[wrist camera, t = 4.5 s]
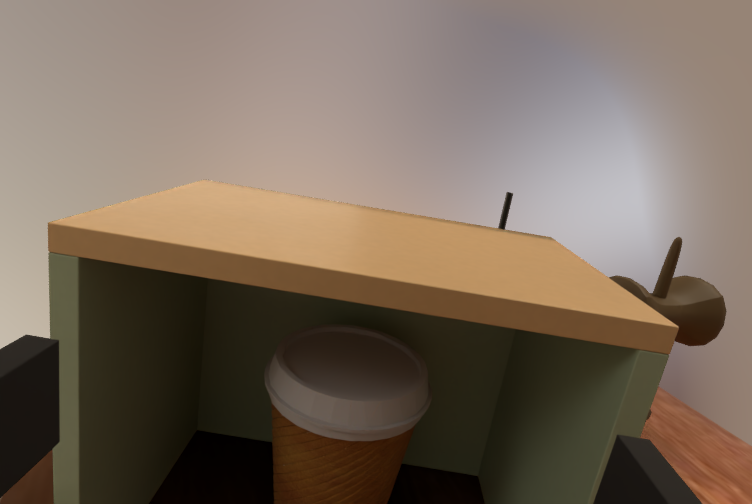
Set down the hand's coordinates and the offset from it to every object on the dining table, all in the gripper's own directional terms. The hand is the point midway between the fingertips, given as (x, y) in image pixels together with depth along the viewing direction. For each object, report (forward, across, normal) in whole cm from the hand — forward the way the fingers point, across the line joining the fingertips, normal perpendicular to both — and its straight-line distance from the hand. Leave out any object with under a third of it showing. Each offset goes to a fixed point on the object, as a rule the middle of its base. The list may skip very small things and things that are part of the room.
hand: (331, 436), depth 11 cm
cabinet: (+14, 0, -18) cm, 23 cm away
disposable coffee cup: (+14, 0, -18) cm, 23 cm away
